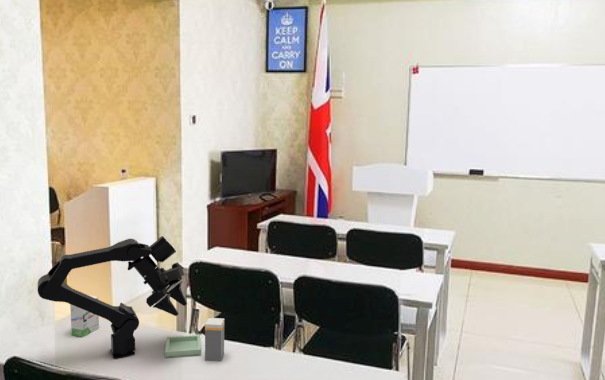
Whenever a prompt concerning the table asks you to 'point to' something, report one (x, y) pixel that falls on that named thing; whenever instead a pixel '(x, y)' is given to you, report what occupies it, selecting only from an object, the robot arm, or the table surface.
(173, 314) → the robot arm
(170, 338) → the tray
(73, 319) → the ink box
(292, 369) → the table surface
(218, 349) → the grey tall block
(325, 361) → the table surface
